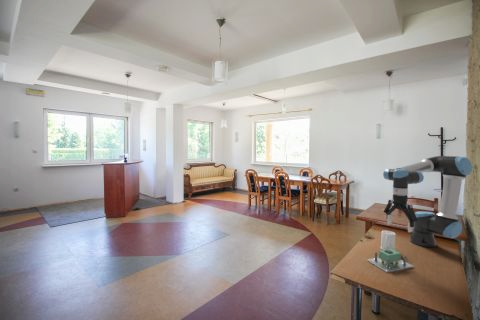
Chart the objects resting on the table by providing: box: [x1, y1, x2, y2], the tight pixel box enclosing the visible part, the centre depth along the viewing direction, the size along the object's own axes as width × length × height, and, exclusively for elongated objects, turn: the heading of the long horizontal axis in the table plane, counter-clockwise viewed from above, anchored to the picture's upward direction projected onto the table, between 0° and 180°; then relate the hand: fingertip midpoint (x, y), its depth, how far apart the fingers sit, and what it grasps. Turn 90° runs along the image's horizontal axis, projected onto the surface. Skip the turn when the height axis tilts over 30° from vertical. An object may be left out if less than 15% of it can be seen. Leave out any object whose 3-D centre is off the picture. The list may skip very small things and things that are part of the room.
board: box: [378, 249, 402, 262], centre depth 141 cm, size 10×6×5 cm, turn 108°
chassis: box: [366, 251, 415, 274], centre depth 141 cm, size 20×14×6 cm
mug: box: [379, 229, 396, 251], centre depth 159 cm, size 12×8×12 cm
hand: (399, 228), depth 145 cm, fingers open, 13 cm apart
